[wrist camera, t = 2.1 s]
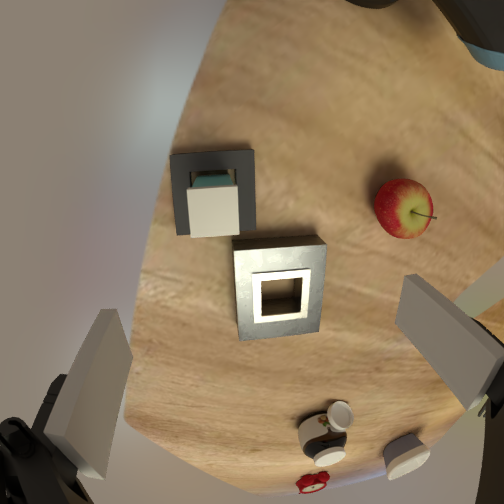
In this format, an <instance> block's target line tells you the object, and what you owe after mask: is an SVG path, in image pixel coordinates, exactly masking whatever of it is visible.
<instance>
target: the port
mask: <svg viewBox="0 0 504 504" xmlns="http://www.w3.org/2000/svg"><path fill="white" fill-rule="evenodd" d="M232 250H233V268H234V285H235V301H236V316H237V328H238V335H239V341H245V340H256V339H266V338H275V337H283V336H291V335H299V334H306V333H313V332H319V326H320V317H321V308H322V299H323V289H324V278H325V266H326V253H327V244H326V243H325V242H324V241H323V240H322V239H321V238H320V237H319V236H318V235H306V236H290V237H274V238H258V239H243V240H232ZM286 278H294V294H293V297H291V298H281V299H271V300H261V281H263V280H275V279H286Z"/></svg>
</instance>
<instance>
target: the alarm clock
mask: <svg viewBox="0 0 504 504" xmlns="http://www.w3.org/2000/svg"><path fill="white" fill-rule="evenodd" d="M329 478H330V476H329V474H328V473H327V472H320V473H319V474H315V475H305V476H303V477H302V478H301V479H300V480H299V481H297V483H296V486H298V488H299V490H300V492H301V493H303V494H306V493H313V492H316V491H319V490H321V489H323V488H325V487H326V482H327V481H328V480H329ZM299 494H300V493H299Z"/></svg>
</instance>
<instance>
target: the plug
mask: <svg viewBox="0 0 504 504" xmlns="http://www.w3.org/2000/svg"><path fill="white" fill-rule="evenodd" d="M187 199H188V211H189V222H190V233H191V238H198V237H212V236H226V235H239V213H238V187H237V185H233V182H232V180H231V178H230V175H229V174H213V175H199V176H197V177H196V179H195V181H194V183H193V185H192V187H191V188H188V189H187Z"/></svg>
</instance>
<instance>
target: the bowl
mask: <svg viewBox="0 0 504 504" xmlns="http://www.w3.org/2000/svg"><path fill="white" fill-rule="evenodd" d="M383 455H384V460H385V465H386V472H387V477H388V479H390V480H393V479H396V478H398V477H401V476H403V475H405V474H407V473H409V472H411V471H413V470H415V469H416V468H418V467H420V466H421V465H422V464H423V463H424V462H425V461H426V460H427V458H428V457H429V455H430V449H429V448H428V447H427V446H426V445H424V444H423V443H422V442H421V441H420V440H419V439H418V438H417V437H416V436H415V435H414V434H413V433H411V434H408V435H405V436H403V437H401V438H399V439H397V440H395V441H393V442H391V443H389V444H388V445H387V447H386V448H385V450H384V452H383Z"/></svg>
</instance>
